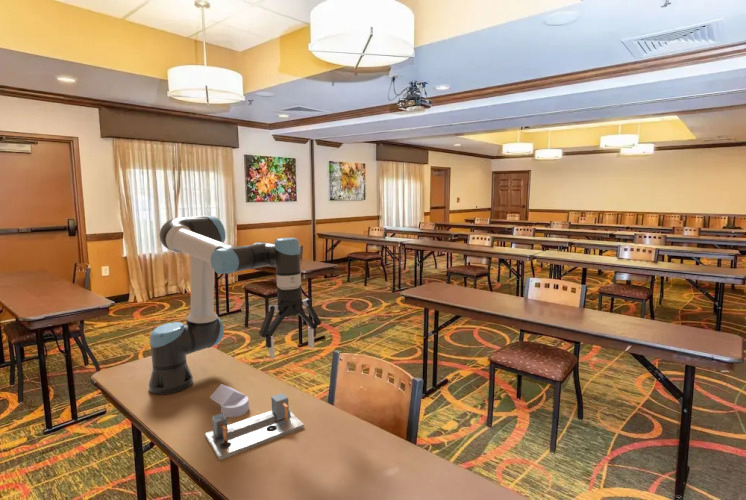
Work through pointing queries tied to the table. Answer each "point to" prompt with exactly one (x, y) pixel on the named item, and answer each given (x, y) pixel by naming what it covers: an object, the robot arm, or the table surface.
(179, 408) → the table surface
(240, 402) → the wedge on round base
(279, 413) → the slider
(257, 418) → the bolt plate
